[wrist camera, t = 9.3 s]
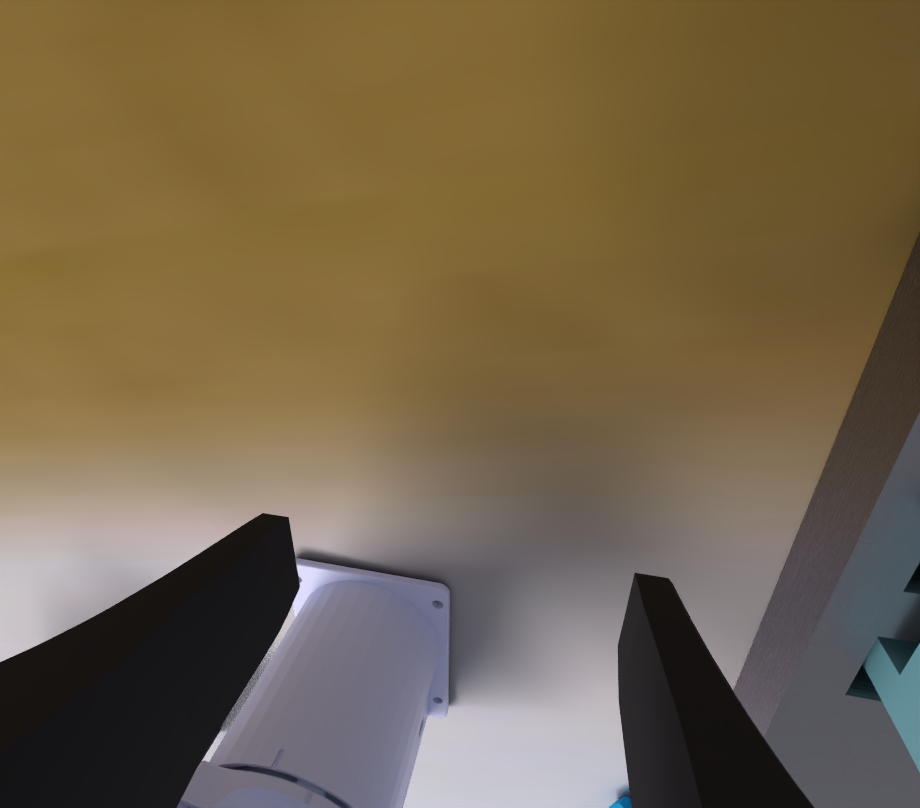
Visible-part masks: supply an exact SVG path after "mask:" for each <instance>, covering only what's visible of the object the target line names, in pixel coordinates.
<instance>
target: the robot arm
mask: <svg viewBox="0 0 920 808" xmlns="http://www.w3.org/2000/svg"><path fill="white" fill-rule="evenodd" d="M438 601H440V602H438ZM292 604H293V609H294V614H295V619H294V621H293V623H292V624H291V626H290V628H289V629H288V631H287V633H286V634H285V636H284V638H283V639H282V641H281V643H280V644H279V646H278V648H277V649H276V651H275V653H274V654H273V656H272V658H271V660H270V661H269V663H268V665H267V666H266V668H265V670H264V671H263V673H262V675H261V676H260V678H259V680H258V681H257V683H256V685H255V686H254V688H253V690H252V691H251V693H250V695H249V696H248V698H247V700H246V701H245V703H244V705H243V706H242V708H241V710H240V711H239V713H238V715H237V716H236V718H235V720H234V721H233V723H232V725H231V726H230V728H229V730H228V731H227V733H226V735H225V736H224V738H223V740H222V741H221V743H220V745H219V746H218V748H217V750H216V751H215V753H214V755H213V756H212V758H211V760H210V762H207V761H202V762H201V763H200V761H201V759H202V757H203V756H204V754H205V752H206V750H207V749H208V747H209V745H210V744H211V742H212V740H213V738H214V737H215V735H216V733H217V732H218V730H219V728H220V727H221V725H222V724H223V722H224V720H225V719H226V717H227V716H228V714H229V712H230V711H231V709H232V708H233V706H234V704H235V703H236V701H237V700H238V698H239V696H240V695H241V693H242V692H243V690H244V688H245V687H246V685H247V684H248V682H249V680H250V679H251V677H252V676H253V674H254V672H255V671H256V669H257V668H258V666H259V664H260V663H261V661H262V659H263V658H264V656H265V655H266V653H267V651H268V650H269V648H270V646H271V645H272V643H273V642H274V640H275V638H276V636H277V635H278V633H279V631H280V629H281V627H282V625H283V623H284V621H285V619H286V617H287V615H288V613H289V611H290V608H291V606H292ZM449 632H450V591H449V589H448V588H447V586H445V585H444V584H441V583H436V582H431V581H425V580H419V579H413V578H408V577H402V576H396V575H390V574H385V573H379V572H373V571H368V570H362V569H356V568H350V567H345V566H339V565H333V564H327V563H322V562H316V561H310V560H305V559H299V558H295V553H294V547H293V541H292V535H291V529H290V523H289V517H283V516H277V515H271V514H264V513H262V514H261V515H259V516H257V517H256V518H254V519H252V520H251V521H249V522H248V523H246V524H244V525H243V526H241V527H240V528H238V529H237V530H235V531H233V532H232V533H230V534H229V535H227V536H226V537H224V538H223V539H221V540H220V541H218V542H217V543H215V544H213V545H212V546H210V547H209V548H207V549H206V550H204V551H203V552H201V553H200V554H198V555H196V556H195V557H193V558H192V559H190V560H189V561H187V562H185V563H184V564H182V565H181V566H179V567H178V568H176V569H174V570H173V571H171V572H170V573H168V574H166V575H165V576H163V577H162V578H160V579H158V580H156V581H155V582H153V583H151V584H150V585H148V586H146V587H145V588H143V589H141V590H139V591H138V592H136V593H134V594H133V595H131V596H129V597H128V598H126V599H124V600H123V601H121V602H119V603H117V604H116V605H114V606H112V607H111V608H109V609H107V610H105V611H103V612H102V613H100V614H98V615H96V616H94V617H92V618H90V619H89V620H87V621H85V622H83V623H81V624H79V625H77V626H75V627H73V628H71V629H69V630H67V631H65V632H63V633H61V634H59V635H57V636H55V637H53V638H52V639H50V640H48V641H46V642H43V643H41V644H39V645H37V646H35V647H33V648H31V649H29V650H26V651H24V652H22V653H20V654H18V655H15V656H13V657H11V658H9V659H6V660H4V661H2V662H0V808H403V805H404V801H405V797H406V794H407V790H408V786H409V783H410V779H411V775H412V771H413V768H414V764H415V760H416V757H417V753H418V749H419V745H420V742H421V738H422V734H423V730H424V727H425V723H426V719H427V716H428V715H429V716H433V717H438V718H443V717H445V716H446V715H447V712H448V708H449ZM618 684H619V706H620V715H621V723H622V732H623V740H624V748H625V756H626V764H627V773H628V781H629V789H630V797H631V805H632V808H815V807H814V806H813V805H812V804H811V802H810V801H809V800H808V798H807V797H806V796H805V794H804V793H803V792H802V790H801V789H800V788H799V786H798V785H797V784H796V782H795V781H794V780H793V778H792V777H791V775H790V774H789V773H788V771H787V770H786V769H785V767H784V766H783V764H782V763H781V762H780V760H779V759H778V757H777V756H776V755H775V753H774V752H773V750H772V749H771V747H770V746H769V744H768V743H767V741H766V740H765V739H764V737H763V736H762V734H761V733H760V731H759V730H758V728H757V727H756V725H755V724H754V722H753V721H752V719H751V718H750V716H749V715H748V713H747V712H746V710H745V709H744V707H743V706H742V704H741V702H740V701H739V699H738V698H737V696H736V695H735V693H734V691H733V690H732V688H731V686H730V685H729V683H728V682H727V680H726V678H725V677H724V675H723V673H722V672H721V670H720V669H719V667H718V665H717V664H716V662H715V660H714V659H713V657H712V655H711V654H710V652H709V650H708V648H707V647H706V645H705V643H704V641H703V640H702V638H701V636H700V634H699V632H698V631H697V629H696V627H695V625H694V624H693V622H692V620H691V618H690V616H689V614H688V612H687V610H686V609H685V607H684V605H683V603H682V601H681V599H680V597H679V595H678V593H677V591H676V589H675V587H674V585H673V583H672V582H671V581H670V580H669V579H668V578H663V577H657V576H651V575H645V574H638V573H635V574H634V579H633V583H632V587H631V592H630V596H629V600H628V605H627V609H626V613H625V618H624V622H623V626H622V630H621V635H620V639H619V643H618ZM199 763H200V764H199ZM198 765H199V766H198Z"/></svg>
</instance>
